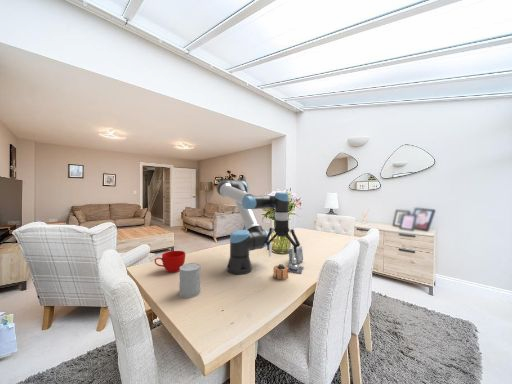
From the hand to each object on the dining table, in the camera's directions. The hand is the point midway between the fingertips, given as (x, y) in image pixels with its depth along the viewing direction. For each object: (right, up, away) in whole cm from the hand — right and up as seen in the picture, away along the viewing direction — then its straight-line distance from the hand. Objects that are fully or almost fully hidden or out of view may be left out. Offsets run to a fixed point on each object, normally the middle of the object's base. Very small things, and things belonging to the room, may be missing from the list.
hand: (281, 257), depth 119 cm
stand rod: (0, -11, 0) cm, 11 cm away
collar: (0, -11, 0) cm, 11 cm away
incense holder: (+12, -11, +24) cm, 30 cm away
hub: (+9, -11, +11) cm, 18 cm away
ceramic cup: (-66, -10, +6) cm, 67 cm away
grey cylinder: (-46, -11, -20) cm, 51 cm away
